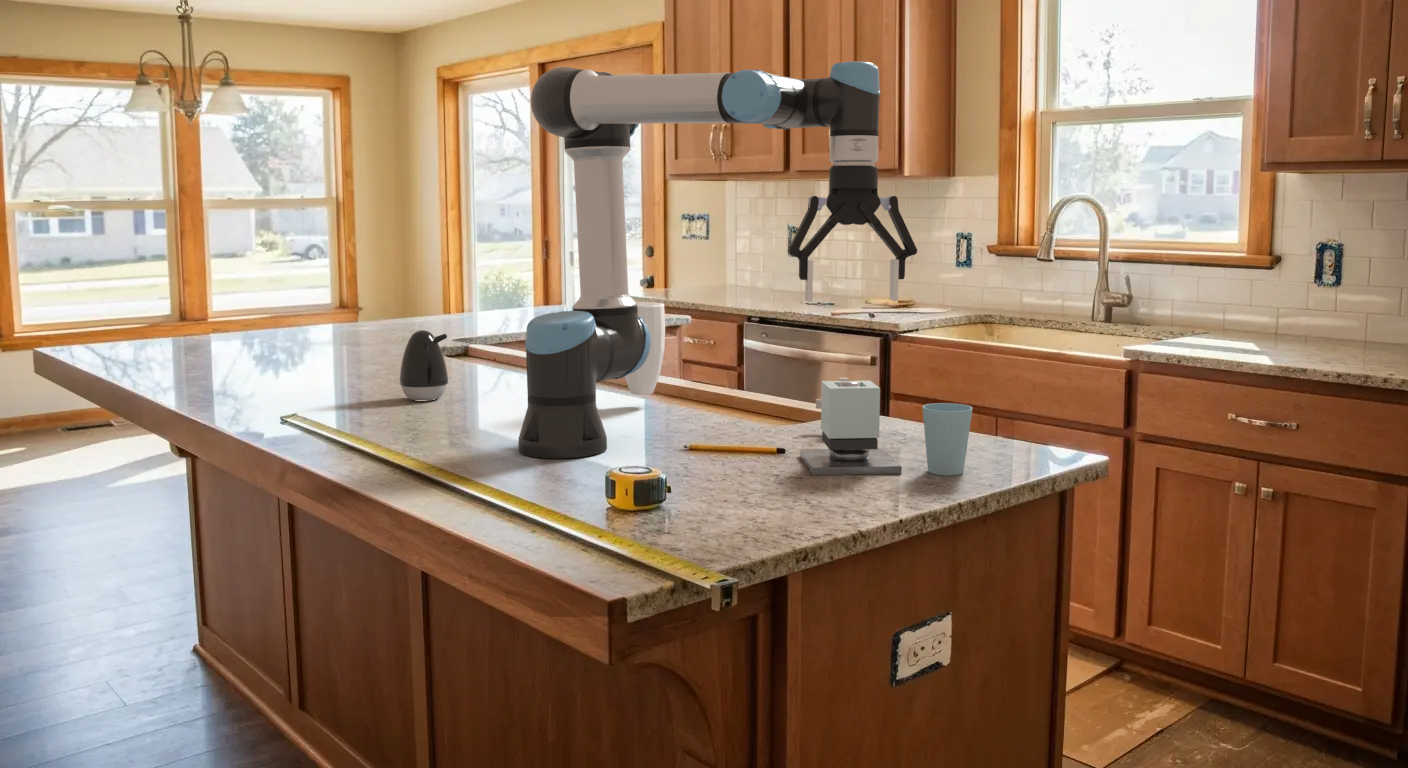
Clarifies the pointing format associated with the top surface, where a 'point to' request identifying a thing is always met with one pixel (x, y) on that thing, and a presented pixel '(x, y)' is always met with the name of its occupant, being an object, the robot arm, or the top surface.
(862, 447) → the dark grey square slab
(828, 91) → the robot arm
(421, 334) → the pump dispenser
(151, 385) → the top surface
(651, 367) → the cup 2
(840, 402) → the sleeve
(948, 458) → the cup
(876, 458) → the pipe stand
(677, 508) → the top surface
